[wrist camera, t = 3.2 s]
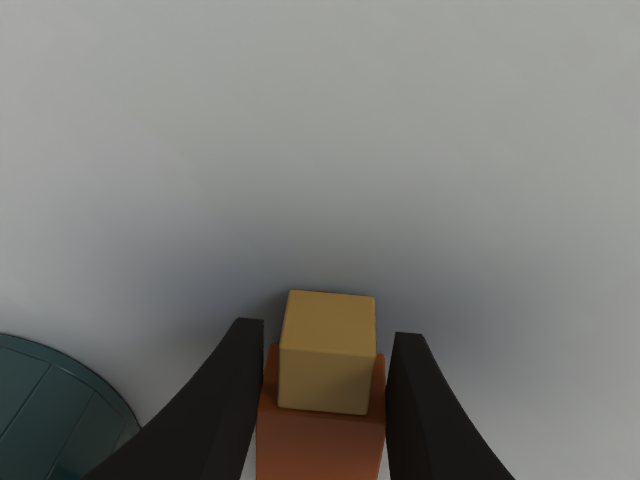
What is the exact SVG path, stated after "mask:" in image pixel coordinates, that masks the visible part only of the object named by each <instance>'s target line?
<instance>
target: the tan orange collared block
mask: <svg viewBox="0 0 640 480" xmlns="http://www.w3.org/2000/svg"><path fill="white" fill-rule="evenodd" d="M385 390H386V377H385V358H384V355H383V354H378V353H377V351H376V323H375V300H374V298H373V297H370V296H358V295H347V294H336V293H325V292H314V291H302V290H290V292H289V295H288V300H287V305H286V310H285V316H284V321H283V326H282V331H281V336H280V342H279V344H271V345H270V346H269V350H268V355H267V359H266V364H265V368H264V373H263V384H262V389H261V394H260V398H259V403H258V408H257V420H256V480H377V478H378V473H379V467H380V462H381V457H382V451H383V446H384V441H385V435H386V434H385V428H386V402H385Z"/></svg>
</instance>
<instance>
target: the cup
mask: <svg viewBox="0 0 640 480" xmlns="http://www.w3.org/2000/svg"><path fill="white" fill-rule="evenodd" d="M139 431H140V428H139V425H138V423H137V421H136V419H135V417H134V415H133V414H132V412H131V410H130V409H129V407H128V406H127V404H126V403H125V402H124V401H123V400H122V398H121V397H120V396H119V395H118V394H117V393H116V392H115V391H114V390H113V389H112V388H111V387H110V386H109V385H108V384H107V383H106V382H105V381H103V380H102V379H101V378H100V377H98V376H97V375H96V374H95V373H93V372H92V371H90V370H89V369H87V368H86V367H84V366H83V365H81V364H80V363H78V362H76V361H75V360H73V359H71V358H69V357H67V356H65V355H63V354H61V353H59V352H57V351H55V350H52V349H50V348H48V347H45V346H43V345H40V344H37V343H34V342H31V341H28V340H25V339H21V338H17V337H13V336H9V335H4V334H0V480H78V479H79V478H80V477H82V476H83V475H85V474H86V473H87V472H89V471H90V470H92V469H93V468H94V467H96V466H97V465H98V464H100V463H101V462H102V461H104V460H105V459H106V458H107V457H109V456H110V455H111V454H112V453H114V452H115V451H116V450H117V449H118V448H120V447H121V446H122V445H123V444H124V443H126V442H127V441H128V440H129V439H130V438H132V437H133V436H134V435H135V434H136V433H137V432H139Z"/></svg>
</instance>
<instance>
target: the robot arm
mask: <svg viewBox="0 0 640 480" xmlns="http://www.w3.org/2000/svg"><path fill="white" fill-rule="evenodd" d="M263 348H264V320H262V319H251V318H240V317H239V318H237V319H236V320H235V321H234V322H233V324H232V325H231V327H230V328H229V330H228V331H227V333H226V334H225V336H224V337H223V339H222V340H221V341H220V343H219V344H218V345H217V347H216V348H215V349H214V351H213V352H212V353H211V355H210V356H209V357H208V358H207V360H206V361H205V362H204V363H203V364H202V366H201V367H200V368H199V369H198V371H197V372H196V373H195V374H194V375H193V377H192V378H191V379H190V380H189V381H188V382H187V383H186V384H185V385H184V387H183V388H182V389H181V390H180V391H179V392H178V393H177V394H176V395H175V396H174V397H173V398H172V400H171V401H170V402H169V403H168V404H167V405H166V406H165V407H164V408H163V409H162V410H161V411H160V412H159V413H158V414H157V415H156V416H155V417H154V418H153V419H152V420H151V421H149V422H148V423H147V424H146V425H145V426H144V427H143V428H142V429H141V430H140V431H139V432H137V433H136V434H135V435H134V436H133V437H132V438H130V439H129V440H128V441H127V442H126V443H124V444H123V445H122V446H121V447H120V448H118V449H117V450H116V451H115V452H114V453H112V454H111V455H110V456H109V457H107V458H106V459H105V460H104V461H102V462H101V463H100V464H98V465H97V466H96V467H94V468H93V469H92V470H90V471H89V472H87V473H86V474H85V475H83V476H82V477H80V478H79V479H78V480H239V479H240V476H241V472H242V469H243V466H244V462H245V459H246V455H247V452H248V448H249V445H250V441H251V438H252V434H253V430H254V427H255V423H256V420H257V408H258V403H259V398H260V394H261V389H262V384H263ZM385 402H386V428H385V434H386V443H387V452H388V461H389V469H390V478H391V480H515V478H514V477H513V476H512V475H511V474H510V473H509V471H508V470H507V469H506V468H505V466H504V465H503V464H502V463H501V461H500V460H499V459H498V458H497V456H496V455H495V454H494V453H493V451H492V450H491V449H490V447H489V446H488V445H487V443H486V442H485V440H484V439H483V438H482V436H481V435H480V433H479V432H478V430H477V429H476V428H475V426H474V425H473V423H472V422H471V420H470V419H469V417H468V416H467V414H466V413H465V411H464V409H463V408H462V406H461V405H460V403H459V401H458V400H457V398H456V396H455V395H454V393H453V391H452V390H451V388H450V386H449V385H448V383H447V381H446V379H445V378H444V376H443V374H442V372H441V370H440V368H439V367H438V365H437V363H436V361H435V359H434V357H433V355H432V353H431V351H430V349H429V346H428V344H427V342H426V340H425V338H424V337H423V336H422V334H415V333H404V332H396V333H395V339H394V344H393V350H392V356H391V361H390V367H389V373H388V378H387V384H386V390H385Z"/></svg>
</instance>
